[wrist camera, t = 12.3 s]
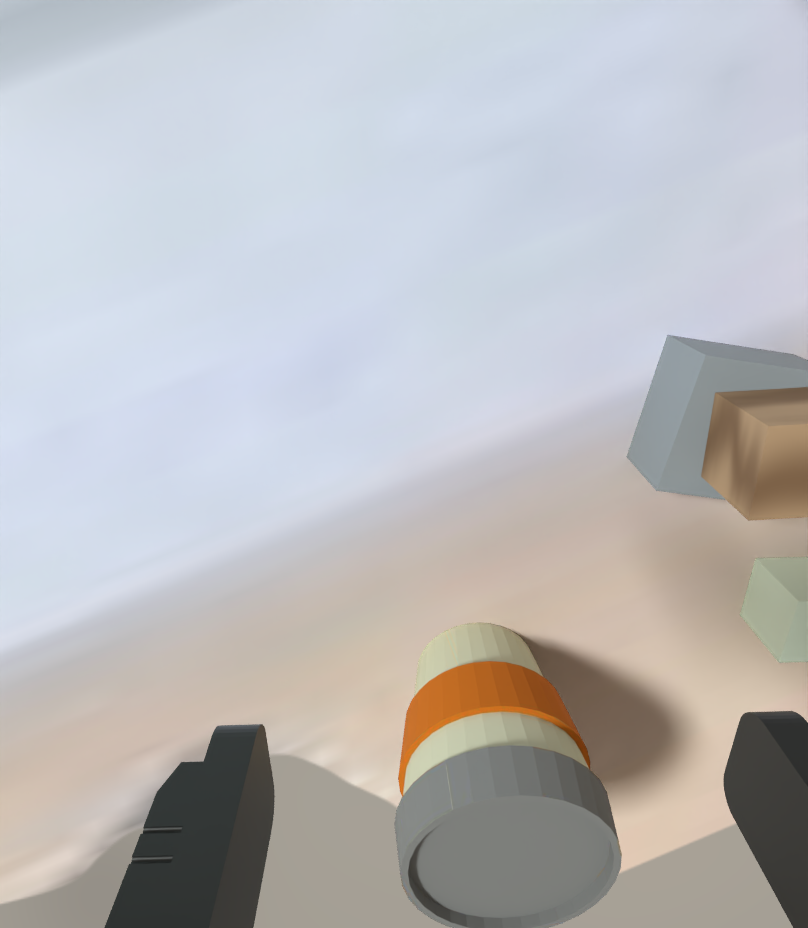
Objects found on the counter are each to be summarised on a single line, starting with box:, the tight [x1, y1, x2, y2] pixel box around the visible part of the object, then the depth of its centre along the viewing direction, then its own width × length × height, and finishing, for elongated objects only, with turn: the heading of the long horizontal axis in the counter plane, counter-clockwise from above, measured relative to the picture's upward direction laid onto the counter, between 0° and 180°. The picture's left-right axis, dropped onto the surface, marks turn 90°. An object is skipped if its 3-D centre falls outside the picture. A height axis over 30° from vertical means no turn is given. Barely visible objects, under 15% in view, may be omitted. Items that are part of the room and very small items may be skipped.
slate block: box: [627, 335, 808, 500], centre depth 36 cm, size 8×8×5 cm
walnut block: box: [701, 387, 808, 520], centre depth 31 cm, size 5×5×5 cm
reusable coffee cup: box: [395, 623, 622, 928], centre depth 39 cm, size 13×13×15 cm
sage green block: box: [740, 557, 808, 663], centre depth 41 cm, size 5×5×5 cm
